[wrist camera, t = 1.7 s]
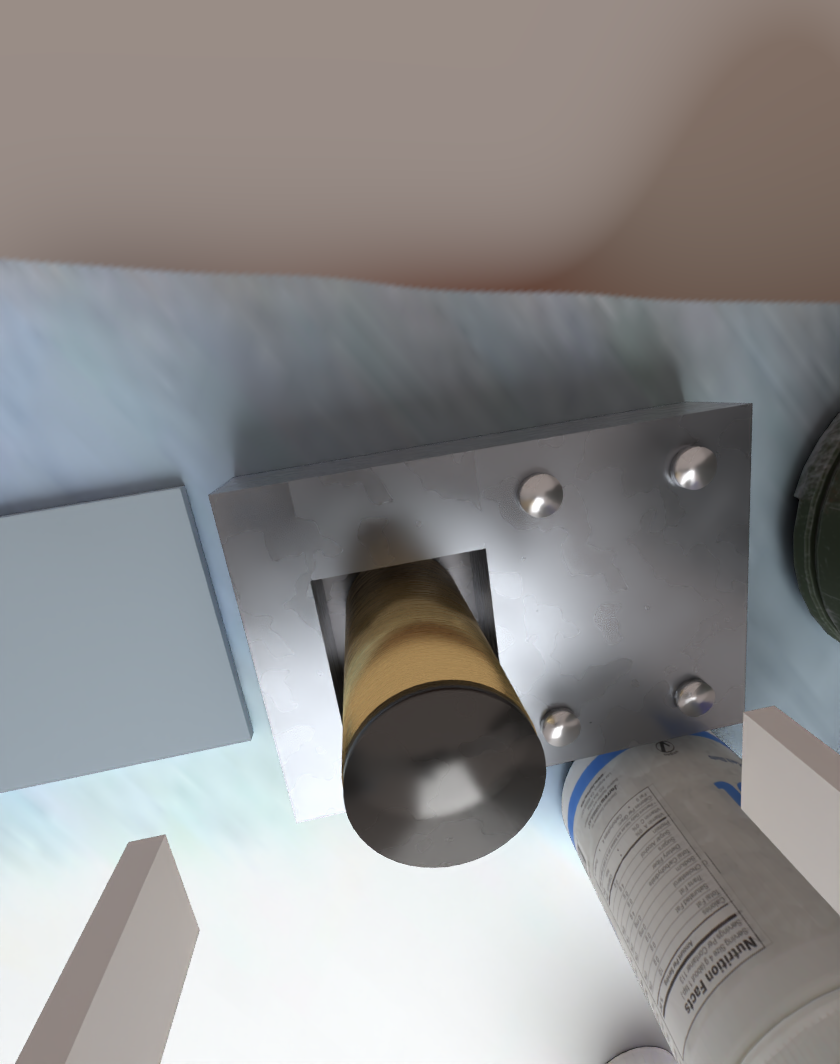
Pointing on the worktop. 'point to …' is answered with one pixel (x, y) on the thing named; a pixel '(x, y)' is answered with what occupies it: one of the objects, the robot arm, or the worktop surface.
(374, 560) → the housing
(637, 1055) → the coffee cup
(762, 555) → the worktop surface
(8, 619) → the mat
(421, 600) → the cylinder
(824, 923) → the supplement tub
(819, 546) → the canister
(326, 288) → the worktop surface
